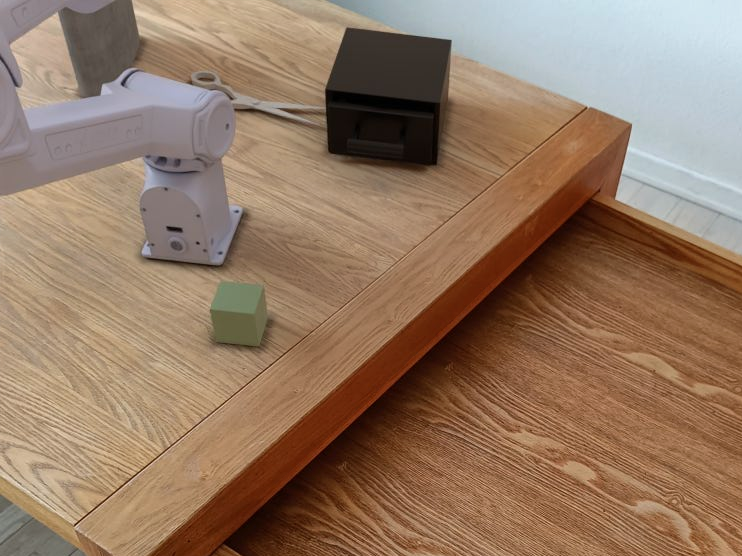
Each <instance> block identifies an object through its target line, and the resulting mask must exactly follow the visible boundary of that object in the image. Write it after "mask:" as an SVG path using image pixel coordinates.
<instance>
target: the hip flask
mask: <svg viewBox="0 0 742 556" xmlns="http://www.w3.org/2000/svg"><path fill="white" fill-rule="evenodd" d="M133 4H134V3H133V0H115V1H113V2H112V3H110V4H108V5H106V6H104V7H103V8H101V9H99V10H97V11H95V12H93V13H79V12H76V11H73V10H71V9H69V8H68V7H64V8H63V9H61V10H60V11H59V12H57V15H58V19H59V22H60V26H61V30H62V32H63V37H64V40H65V41H64V42H65V44H66V48H67V51H68V54H69V59H70V62H71V65H72V68H73V73H74V76H75V81H76V82H77V83H76V84H77V87H78V90H79V91H78V92H79V94H80V96H82V98H89V97H95V96H100V95H101V90H102V85H103V84H105V83H111V82H113V81H115V80H116V79H118V78H119V76H120V75H121V74H122V73H123V72H124V71H126V70H127V69H129V68H132V65H133V63H134V62H135V60H136V57H137V55H138V52H139V49H140V45H141V38H140V33H139V28H138V24H137V18H136V14H135V9H134V5H133Z"/></svg>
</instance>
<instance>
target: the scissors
mask: <svg viewBox="0 0 742 556" xmlns="http://www.w3.org/2000/svg"><path fill="white" fill-rule="evenodd" d="M200 78H201V79H202V78H204V79H205V78H207V79H212V80H213V81H203V80H199V79H200ZM190 80H191V81H190V82H191V83H192V84H191V85H193V86H196V87H200V88H204V89H207V90H217V91H222V92H224V93H225V94H226V95H227V96H228V97H231V98H232V99H230V100H231V103H232V106H233V108H234V110H235V109H236V110H247V109H253V110H259V111H262V112H265V113H269V114H273V115H276V116H279V117H283V118H287V119H291V120H295V121H299V122H303V123H306V124H311V125H315V126H319V127H324V125H322V124H320V123H318V122H314V121H311V120H310V119H306V118H303V117H301V116H298V115H295V114H292V113H290V112H287V111H285V110H282V109H322V110H323V109H324V110H326V107H324V106H323V107H322V106H315V105H308V104H307V105H306V104H300V103H299V104H297V103H288V102H277V101H268V100H267V101H266V100H258V99H256V98H254V97H252V96H248V95H246V94H242V93H239V92H236V91H234V90H233V89H232V87H231V86H230V85H227V84H226V85H225V84H223V83H222V82H221V78H220V76H218V74H217V73H215V72H213V71H209V70H199V71H194V72H193V73H191V75H190Z"/></svg>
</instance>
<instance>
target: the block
mask: <svg viewBox="0 0 742 556" xmlns="http://www.w3.org/2000/svg"><path fill="white" fill-rule="evenodd" d="M209 315H210V320H211V324H212V329H213V334H214V339H215V342H216V343H221V344H230V345H238V346H248V347H249V346H250V347H257V348H258V347H260V346H261V342H262V339H263V337H264V332H265V330H266V327H267V324H268V320H269V312H268V304H267V297H266V291H265V285H263V284H256V283H255V284H254V283H246V282H237V281H228V280H220V281H219V284H218V286H217V288H216V291H215V294H214V296H213V298H212V301H211V304H210V307H209Z"/></svg>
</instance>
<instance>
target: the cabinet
mask: <svg viewBox="0 0 742 556" xmlns="http://www.w3.org/2000/svg"><path fill="white" fill-rule="evenodd" d="M452 43H453V40H452V39H448V38H439V37H432V36H424V35H415V34H406V33H398V32H390V31H380V30H372V29H366V28H365V29H364V28H356V27H349V26H348V27H347V26H346V27H345V30H344V33H343V36H342V39H341V41H340V44H339V46H338V47H339V48H338V50H337V53H336V56H335V59H334V61H333V65H332V68H331V70H330V73H329V76H328V80H327V82H326V85H325V88H324V97H325V98H324V99H325V100H324V101H325V108H326V109H325V116H326V117H325V118H326V135H327V138H326V140H327V152H328V153H330V154H331V152H330V132H329V112H328V105H329V102H330V101H338V102H339V98H346V99H354V100H363V101H371V102H380V103H388V104H397V105H405V106H413V107H422V108H430V109H433V113H434V122H433V142H432V160H431V165H432V166H437V165H438V161H439V154H440V150H441V145H442V137H443V132H444V126H445V120H446V114H447V109H448V102H449V92H450V91H449V90H450V74H451V60H452V59H451V58H452V46H453V45H452Z"/></svg>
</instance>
